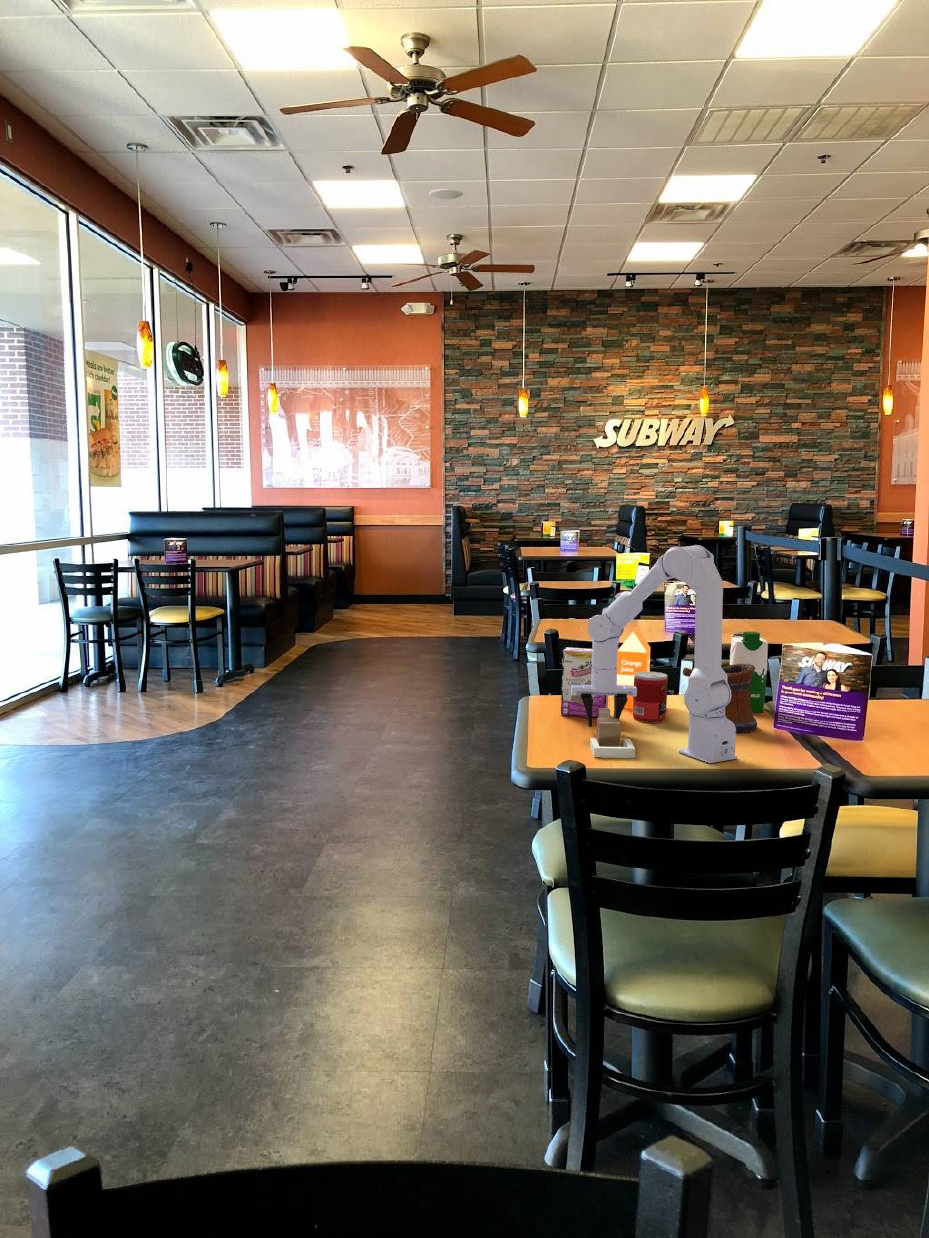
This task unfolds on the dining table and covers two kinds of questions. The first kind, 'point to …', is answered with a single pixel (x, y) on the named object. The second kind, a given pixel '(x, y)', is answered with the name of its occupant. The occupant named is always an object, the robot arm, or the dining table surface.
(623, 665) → the orange juice
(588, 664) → the candy bar box
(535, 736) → the dining table surface
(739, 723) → the mug
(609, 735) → the block
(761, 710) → the milk carton
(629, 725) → the dining table surface
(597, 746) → the white u-shaped bracket
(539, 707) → the dining table surface
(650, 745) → the dining table surface
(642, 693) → the canned food
